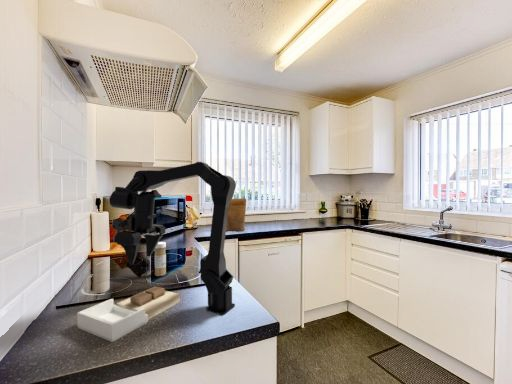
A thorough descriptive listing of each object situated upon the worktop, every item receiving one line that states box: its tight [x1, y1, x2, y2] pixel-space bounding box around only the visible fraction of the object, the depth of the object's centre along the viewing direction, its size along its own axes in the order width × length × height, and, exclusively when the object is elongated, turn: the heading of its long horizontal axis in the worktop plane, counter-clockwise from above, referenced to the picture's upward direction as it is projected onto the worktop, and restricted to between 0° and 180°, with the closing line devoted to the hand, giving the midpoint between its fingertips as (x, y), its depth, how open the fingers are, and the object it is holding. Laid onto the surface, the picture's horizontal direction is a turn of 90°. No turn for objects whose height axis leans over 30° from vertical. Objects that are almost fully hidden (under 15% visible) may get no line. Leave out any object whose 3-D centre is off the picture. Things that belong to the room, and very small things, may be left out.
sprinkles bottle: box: [154, 241, 167, 277], centre depth 106 cm, size 5×5×14 cm
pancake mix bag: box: [226, 197, 247, 232], centre depth 215 cm, size 7×19×28 cm, turn 96°
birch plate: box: [116, 290, 181, 321], centre depth 76 cm, size 12×13×2 cm
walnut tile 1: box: [129, 291, 152, 307], centre depth 74 cm, size 4×4×2 cm
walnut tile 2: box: [144, 286, 166, 300], centre depth 78 cm, size 4×4×2 cm
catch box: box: [76, 298, 149, 343], centre depth 66 cm, size 14×10×4 cm
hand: (140, 260), depth 80 cm, fingers open, 9 cm apart
